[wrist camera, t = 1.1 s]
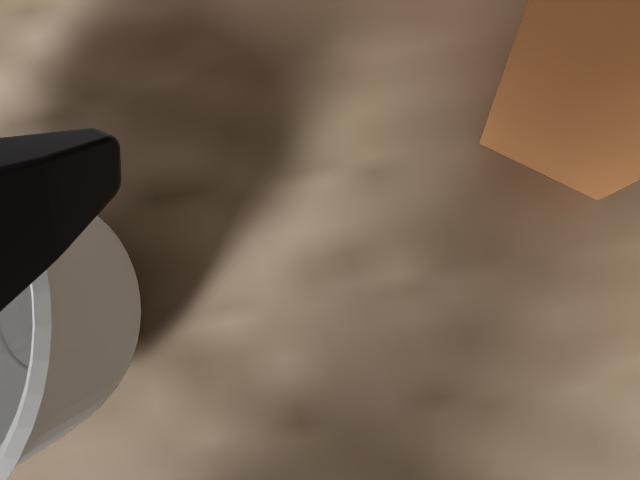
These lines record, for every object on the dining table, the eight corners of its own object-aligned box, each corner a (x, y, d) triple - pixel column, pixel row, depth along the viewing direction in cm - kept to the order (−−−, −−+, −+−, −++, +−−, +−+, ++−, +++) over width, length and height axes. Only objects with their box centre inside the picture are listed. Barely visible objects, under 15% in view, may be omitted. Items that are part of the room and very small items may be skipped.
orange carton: (597, 200, 20) (892, 56, 7) (479, 143, 21) (553, -73, 8) (662, 86, 20) (1081, -270, 7) (540, 33, 21) (713, -363, 8)
